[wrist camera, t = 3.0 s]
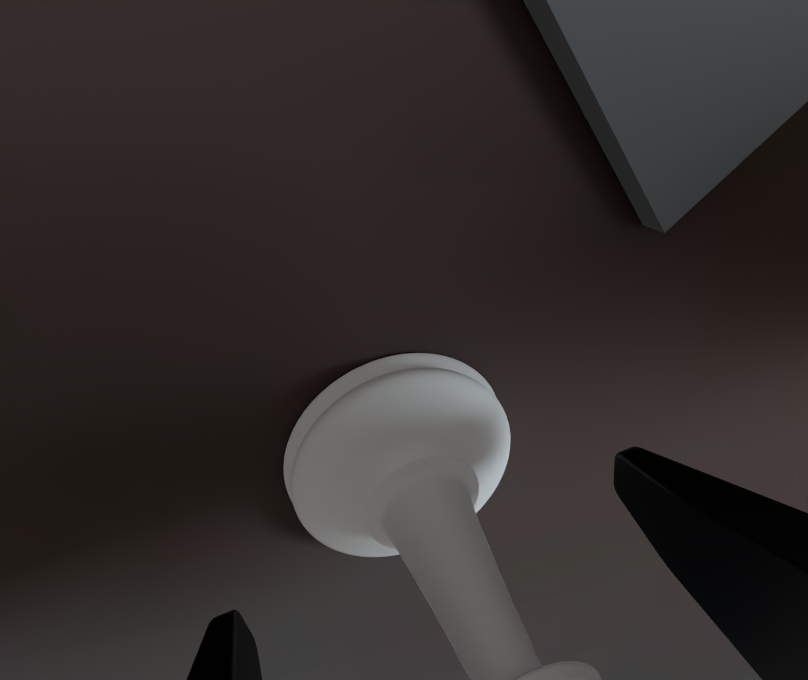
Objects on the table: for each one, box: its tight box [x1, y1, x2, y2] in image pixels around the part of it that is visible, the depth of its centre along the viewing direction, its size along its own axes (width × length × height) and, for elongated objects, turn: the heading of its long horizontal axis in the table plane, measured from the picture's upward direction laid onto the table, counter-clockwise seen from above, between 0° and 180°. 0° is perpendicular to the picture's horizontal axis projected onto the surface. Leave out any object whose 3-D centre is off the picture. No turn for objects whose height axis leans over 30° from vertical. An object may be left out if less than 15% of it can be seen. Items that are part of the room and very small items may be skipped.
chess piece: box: [283, 353, 601, 680], centre depth 7 cm, size 5×5×10 cm
